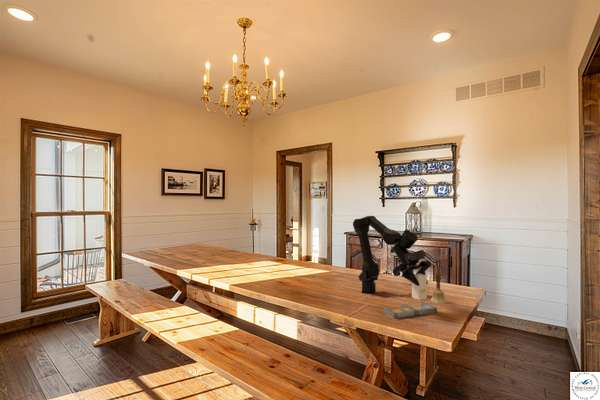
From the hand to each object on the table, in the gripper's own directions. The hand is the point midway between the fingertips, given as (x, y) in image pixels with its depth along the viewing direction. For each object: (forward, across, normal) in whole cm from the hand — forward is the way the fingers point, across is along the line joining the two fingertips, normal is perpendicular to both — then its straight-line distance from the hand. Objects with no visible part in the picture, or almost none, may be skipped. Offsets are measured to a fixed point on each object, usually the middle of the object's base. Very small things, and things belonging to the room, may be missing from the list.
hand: (422, 284), depth 135 cm
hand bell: (+4, +18, +14) cm, 23 cm away
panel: (+7, -5, +11) cm, 14 cm away
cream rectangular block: (+3, 0, +6) cm, 7 cm away
